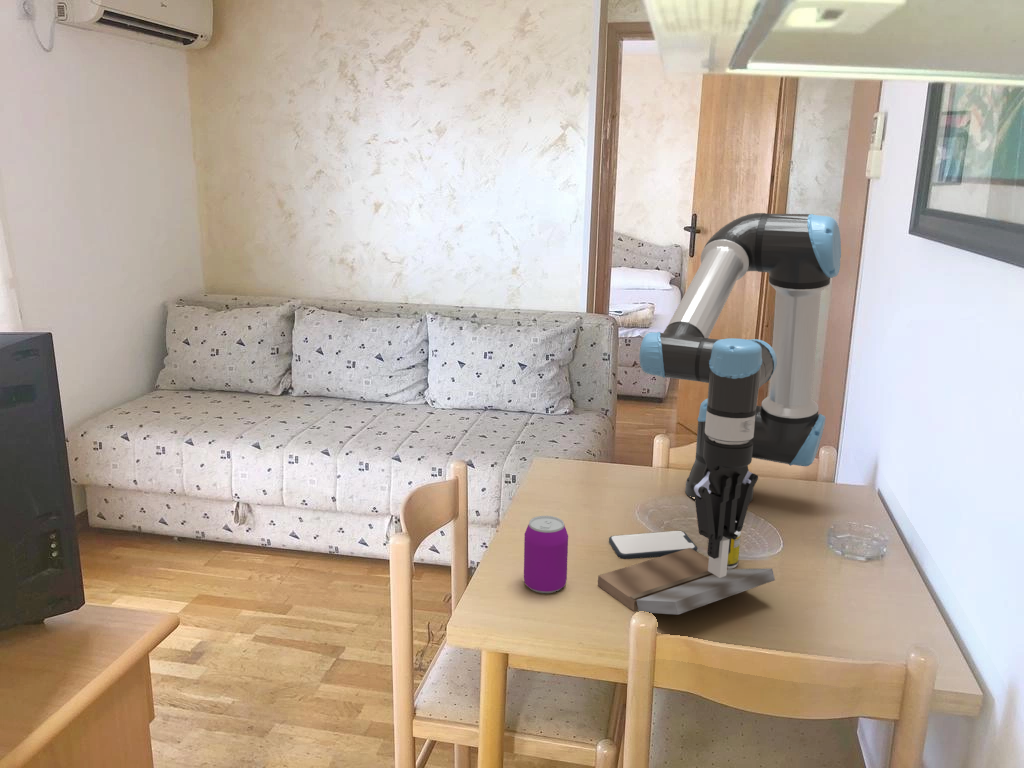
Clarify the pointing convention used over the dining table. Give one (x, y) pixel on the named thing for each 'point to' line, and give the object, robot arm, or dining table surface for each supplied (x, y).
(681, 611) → the grey plank
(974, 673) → the dining table surface
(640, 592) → the walnut floor board
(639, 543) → the smartphone
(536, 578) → the beverage can
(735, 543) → the supplement bottle
